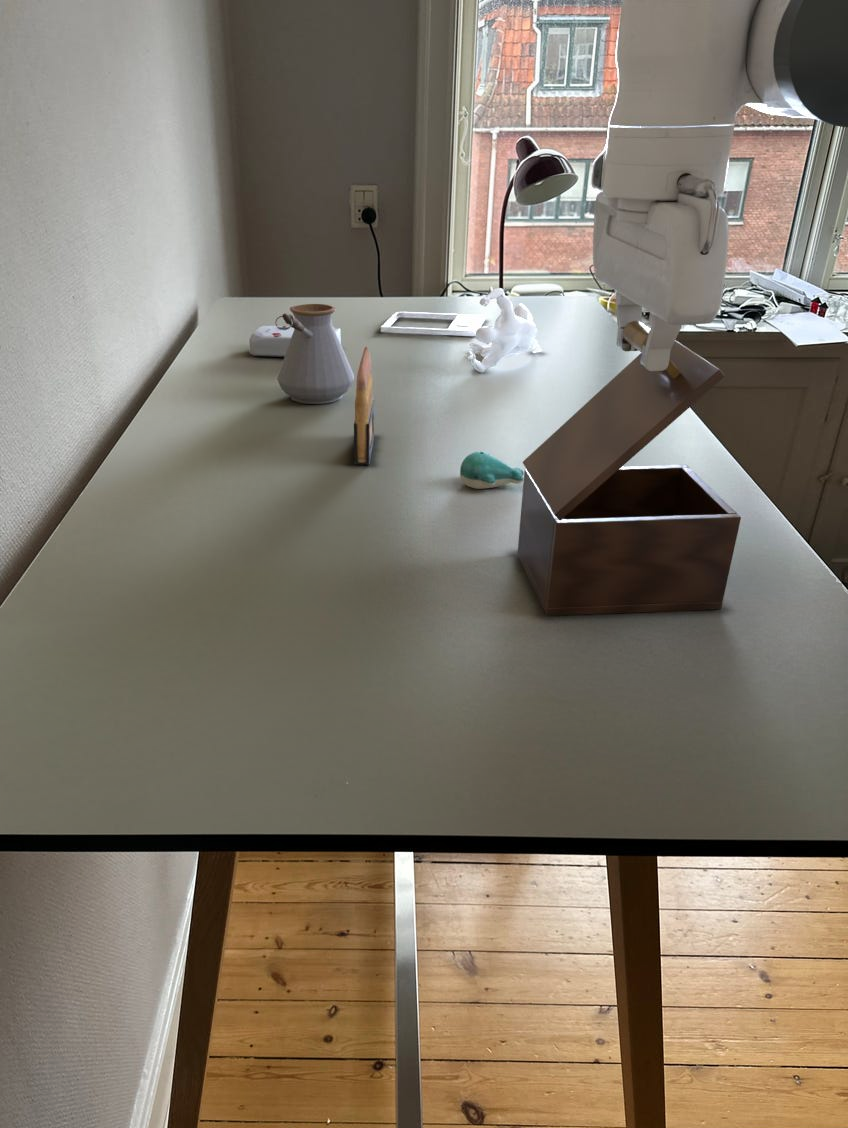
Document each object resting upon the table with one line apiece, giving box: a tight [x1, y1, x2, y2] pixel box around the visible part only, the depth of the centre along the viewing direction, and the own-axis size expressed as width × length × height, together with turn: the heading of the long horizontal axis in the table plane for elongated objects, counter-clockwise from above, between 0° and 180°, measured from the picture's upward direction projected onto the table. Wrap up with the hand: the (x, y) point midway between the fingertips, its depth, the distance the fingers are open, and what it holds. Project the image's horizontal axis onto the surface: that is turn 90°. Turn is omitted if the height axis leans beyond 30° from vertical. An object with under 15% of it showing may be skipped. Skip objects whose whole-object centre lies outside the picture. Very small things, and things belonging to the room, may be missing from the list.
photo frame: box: [380, 311, 486, 337], centre depth 179 cm, size 15×1×18 cm
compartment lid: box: [522, 321, 725, 520], centre depth 77 cm, size 16×13×5 cm
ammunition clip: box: [353, 346, 375, 466], centre depth 114 cm, size 11×2×12 cm, turn 176°
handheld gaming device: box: [249, 325, 342, 358], centre depth 161 cm, size 9×15×4 cm, turn 80°
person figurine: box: [465, 287, 543, 373], centre depth 151 cm, size 13×13×18 cm
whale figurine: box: [459, 450, 524, 490], centre depth 106 cm, size 6×7×4 cm
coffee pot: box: [274, 303, 355, 405], centre depth 130 cm, size 21×12×15 cm, turn 169°
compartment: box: [517, 464, 742, 617], centre depth 84 cm, size 16×13×9 cm
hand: (640, 358), depth 75 cm, fingers closed on compartment lid, 5 cm apart
